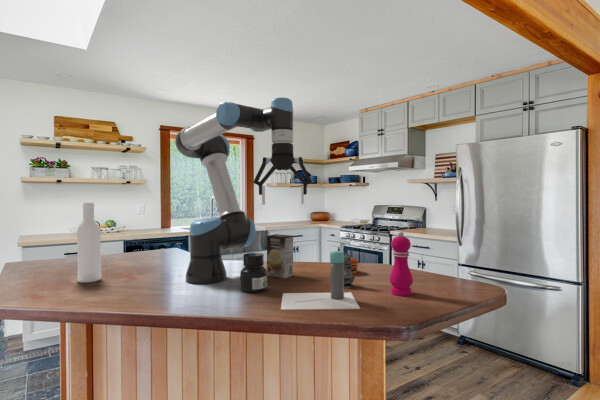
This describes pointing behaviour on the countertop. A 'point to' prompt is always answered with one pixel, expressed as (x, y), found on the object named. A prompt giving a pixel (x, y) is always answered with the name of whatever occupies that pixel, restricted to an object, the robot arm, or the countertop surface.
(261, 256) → the ink bottle
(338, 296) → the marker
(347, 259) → the chess piece
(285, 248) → the coffee box
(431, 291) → the countertop surface
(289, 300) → the paper
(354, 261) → the hamburger
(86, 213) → the bottle
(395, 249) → the pepper mill
